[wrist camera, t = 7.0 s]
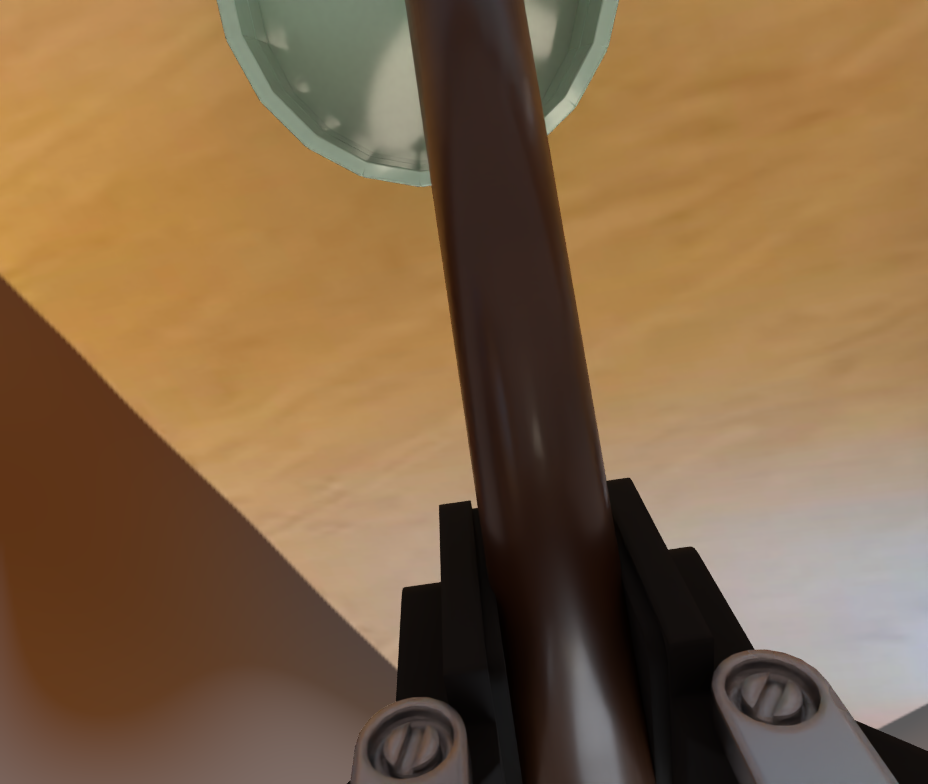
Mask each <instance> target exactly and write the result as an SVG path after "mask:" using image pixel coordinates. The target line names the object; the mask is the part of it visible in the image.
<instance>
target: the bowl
mask: <svg viewBox="0 0 928 784" xmlns="http://www.w3.org/2000/svg"><path fill="white" fill-rule="evenodd" d="M618 2H619V0H524V3H525V9H526V15H527V21H528V27H529V33H530V38H531V44H532V50H533V56H534V62H535V68H536V73H537V79H538V85H539V91H540V97H541V102H542V108H543V114H544V120H545V126H546V132H547V136H548V135H549V134H550V133H551V132H552V131H553V130H554V129H555V128H556V127H557V126H558V125H559V124H560V123H561V122H562V121H563V120H564V119H565V118H566V117H567V116H568V115H569V114H570V113H571V112H572V111H573V110H574V109H575V107H576V106H577V105H578V103H579V101H580V99H581V97H582V96H583V94H584V92H585V90H586V88H587V86H588V85H589V83H590V81H591V79H592V77H593V75H594V74H595V72H596V70H597V68H598V66H599V64H600V62H601V61H602V59H603V57H604V55H605V53H606V51H607V48H608V46H609V42H610V38H611V33H612V29H613V24H614V20H615V15H616V11H617V7H618ZM217 4H218V8H219V12H220V17H221V21H222V25H223V29H224V33H225V38H226V39H227V43H228V44H229V46H230V48H231V50H232V52H233V53H234V55H235V57H236V59H237V61H238V62H239V64H240V66H241V68H242V70H243V71H244V73H245V75H246V77H247V79H248V80H249V82H250V84H251V86H252V88H253V89H254V91H255V93H256V95H257V97H258V98H259V100H260V101H261V103H262V104H263V105H264V106H265V107H266V108H267V109H268V110H269V111H270V112H271V113H272V114H273V115H274V116H275V117H276V118H277V119H278V120H279V121H280V122H281V123H282V124H283V125H284V126H285V127H286V128H287V129H288V130H289V131H290V132H291V133H292V134H293V135H294V136H295V137H296V138H297V139H298V140H299V141H300V142H301V143H302V144H303V145H304V146H305V147H308V149H310V150H312V151H314V152H316V153H317V154H319V155H321V156H323V157H325V158H327V159H329V160H331V161H333V162H335V163H336V164H338V165H340V166H342V167H344V168H346V169H348V170H350V171H352V172H353V173H355V174H357V175H359V176H363V177H365V178H370V179H376V180H382V181H388V182H393V183H399V184H405V185H410V186H416V187H420V186H421V187H425V186H431V179H430V172H429V165H428V158H427V151H426V144H425V137H424V130H423V123H422V116H421V109H420V102H419V95H418V88H417V82H416V75H415V68H414V61H413V54H412V47H411V40H410V33H409V26H408V19H407V12H406V5H405V0H217Z"/></svg>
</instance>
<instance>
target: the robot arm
mask: <svg viewBox="0 0 928 784" xmlns="http://www.w3.org/2000/svg"><path fill="white" fill-rule="evenodd" d="M607 487H608V492H609V498H610V504H611V510H612V516H613V522H614V527H615V533H616V539H617V545H618V551H619V557H620V562H621V570H622V572H621V579H622V584H623V590H624V596H625V602H626V608H627V614H628V620H629V625H630V631H631V637H632V643H633V649H634V655H635V661H636V666H637V672H638V678H639V684H640V690H641V696H642V702H643V707H644V713H645V719H646V725H647V731H648V737H649V743H650V749H651V754H652V760H653V766H654V772H655V778H656V784H928V751H926V750H924V749H921V748H919V747H917V746H914V745H912V744H910V743H907V742H905V741H902V740H900V739H898V738H896V737H893V736H891V735H889V734H886V733H884V732H881V731H879V730H877V729H874V728H872V727H870V726H867V725H865V724H863V723H860V722H858V721H856V720H854V718H853V717H852V716H851V714H850V713H849V711H848V710H847V708H846V707H845V706H844V704H843V703H842V701H841V700H840V698H839V697H838V696H837V694H836V693H835V691H834V690H833V688H832V687H831V685H830V684H829V683H828V681H827V680H826V679H825V678H824V677H823V676H822V675H821V674H820V673H819V672H818V671H817V670H816V669H815V668H814V667H812V666H810V665H809V664H807V663H806V662H804V661H803V660H801V659H799V658H796V657H794V656H791V655H788V654H786V653H783V652H777V651H771V650H754V648H753V646H752V644H751V643H750V641H749V639H748V638H747V636H746V634H745V632H744V631H743V629H742V627H741V626H740V624H739V622H738V620H737V619H736V617H735V615H734V614H733V612H732V610H731V608H730V607H729V605H728V603H727V602H726V600H725V598H724V596H723V595H722V593H721V591H720V590H719V588H718V586H717V584H716V583H715V581H714V579H713V578H712V576H711V574H710V572H709V571H708V569H707V567H706V566H705V564H704V562H703V560H702V559H701V557H700V555H699V554H698V552H697V551H696V550H695V548H693V547H684V548H677V549H670V550H668V549H667V547H666V545H665V543H664V541H663V539H662V537H661V535H660V534H659V532H658V530H657V528H656V526H655V524H654V522H653V520H652V518H651V516H650V514H649V512H648V511H647V509H646V507H645V505H644V503H643V501H642V499H641V497H640V495H639V493H638V491H637V489H636V488H635V486H634V484H633V482H632V480H631V479H630V478H623V479H616V480H609V481H607ZM439 521H440V563H441V582H439V583H431V584H424V585H417V586H410V587H404V588H403V590H402V601H401V619H400V638H399V656H398V674H397V692H396V702H394V703H393V704H390V705H388V706H386V707H385V708H383V709H381V710H380V711H378V712H377V713H376V714H375V715H374V716H373V717H372V718H370V719H369V720H368V722H367V723H366V724H365V726H364V727H363V729H362V730H361V732H360V733H359V737H358V739H357V742H356V745H355V750H354V758H353V765H352V773H351V780H350V781H349V782H348V783H347V784H523V782H522V775H521V768H520V762H519V755H518V748H517V741H516V734H515V727H514V720H513V713H512V706H511V699H510V692H509V685H508V678H507V671H506V665H505V658H504V651H503V644H502V637H501V630H500V623H499V616H498V609H497V602H496V595H495V594H494V592H493V590H492V589H491V586H490V584H489V580H488V574H487V567H486V560H485V553H484V546H483V539H482V532H481V525H480V518H479V511H478V508H474V509H472V506H471V501H464V502H457V503H450V504H443V505H439Z"/></svg>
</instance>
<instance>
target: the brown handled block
mask: <svg viewBox="0 0 928 784" xmlns="http://www.w3.org/2000/svg"><path fill="white" fill-rule="evenodd" d="M405 5H406V12H407V19H408V26H409V33H410V40H411V47H412V54H413V61H414V68H415V75H416V82H417V88H418V95H419V102H420V109H421V116H422V123H423V130H424V137H425V144H426V151H427V158H428V165H429V172H430V179H431V186H432V193H433V199H434V206H435V213H436V220H437V227H438V234H439V241H440V248H441V255H442V262H443V269H444V276H445V283H446V290H447V297H448V303H449V310H450V317H451V324H452V331H453V338H454V345H455V352H456V359H457V366H458V373H459V380H460V387H461V394H462V401H463V407H464V414H465V421H466V428H467V435H468V442H469V449H470V456H471V463H472V470H473V477H474V484H475V491H476V498H477V505H478V511H479V518H480V525H481V532H482V539H483V546H484V553H485V560H486V567H487V574H488V580H489V584H490V586H491V589H492V590H493V592H494V594H495V595H496V602H497V609H498V616H499V623H500V630H501V637H502V644H503V651H504V658H505V665H506V671H507V678H508V685H509V692H510V699H511V706H512V713H513V720H514V727H515V734H516V741H517V748H518V755H519V762H520V768H521V775H522V782H523V784H656V778H655V772H654V766H653V760H652V754H651V749H650V743H649V737H648V731H647V725H646V719H645V713H644V707H643V702H642V696H641V690H640V684H639V678H638V672H637V666H636V661H635V655H634V649H633V643H632V637H631V631H630V625H629V620H628V614H627V608H626V602H625V596H624V590H623V584H622V579H621V572H622V570H621V562H620V557H619V551H618V545H617V539H616V533H615V527H614V522H613V516H612V510H611V504H610V498H609V492H608V487H607V481H606V475H605V469H604V463H603V458H602V452H601V446H600V440H599V434H598V428H597V423H596V417H595V411H594V405H593V399H592V394H591V388H590V382H589V376H588V370H587V364H586V359H585V353H584V347H583V341H582V335H581V329H580V324H579V318H578V312H577V306H576V300H575V295H574V289H573V283H572V277H571V271H570V265H569V260H568V254H567V248H566V242H565V236H564V231H563V225H562V219H561V213H560V207H559V201H558V196H557V190H556V184H555V178H554V172H553V166H552V161H551V155H550V149H549V143H548V137H547V132H546V126H545V120H544V114H543V108H542V102H541V97H540V91H539V85H538V79H537V73H536V68H535V62H534V56H533V50H532V44H531V38H530V33H529V27H528V21H527V15H526V9H525V3H524V0H405Z"/></svg>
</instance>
